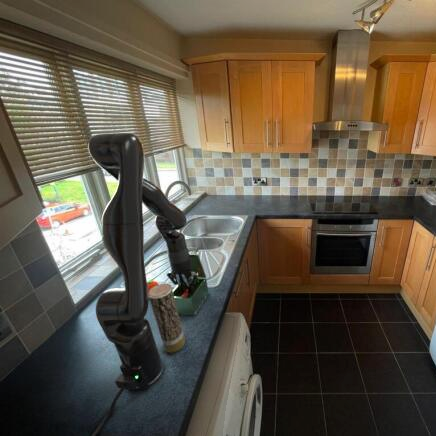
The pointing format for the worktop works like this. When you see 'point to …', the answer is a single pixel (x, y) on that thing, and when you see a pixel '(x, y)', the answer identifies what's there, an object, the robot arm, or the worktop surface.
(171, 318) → the brown textured cylinder
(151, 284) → the tomato
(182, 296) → the red rounded rod
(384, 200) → the worktop surface
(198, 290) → the box
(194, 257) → the lid
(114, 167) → the robot arm
